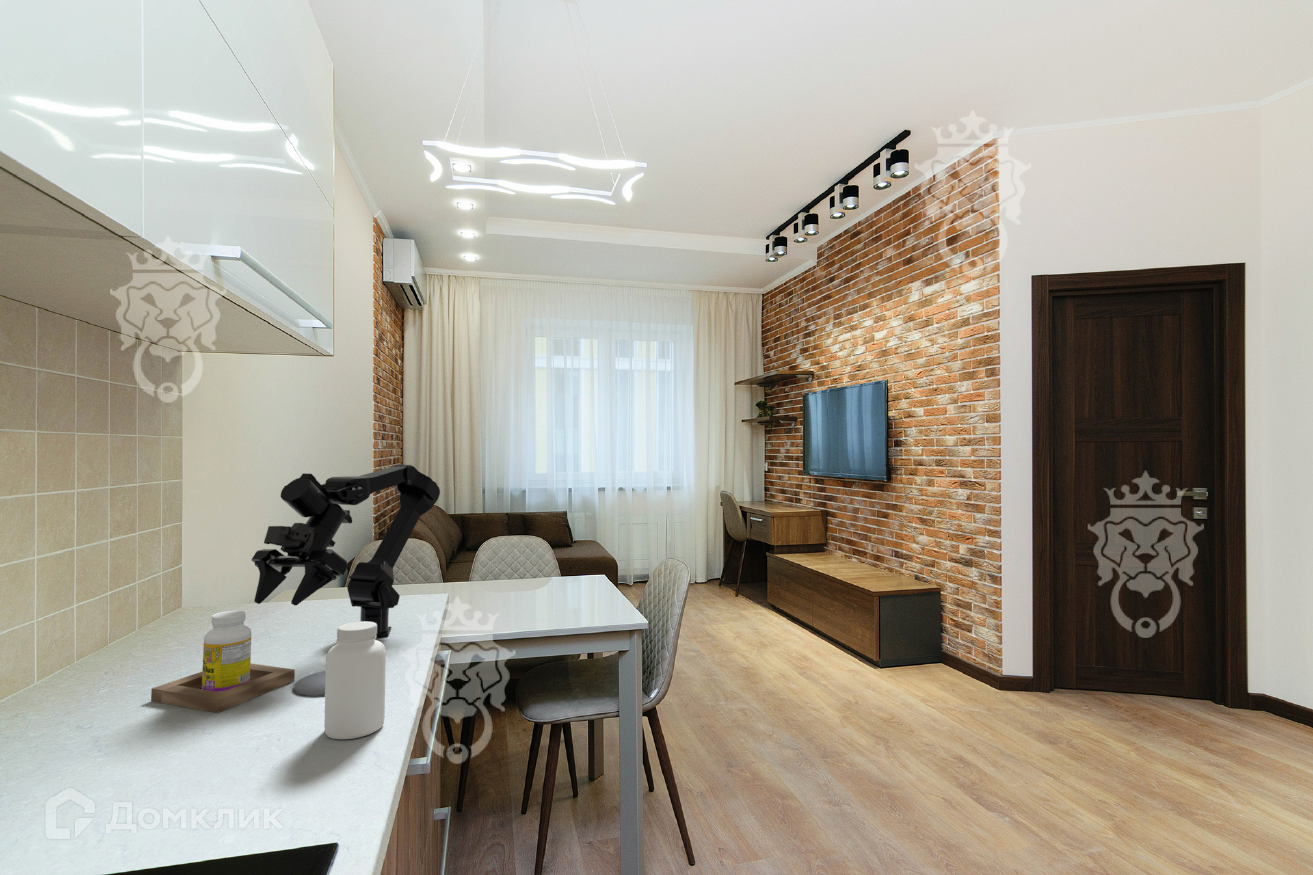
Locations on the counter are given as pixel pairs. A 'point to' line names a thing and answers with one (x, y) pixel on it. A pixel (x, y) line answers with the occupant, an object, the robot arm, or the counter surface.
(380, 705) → the pill bottle
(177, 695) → the pocket block
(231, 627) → the supplement bottle
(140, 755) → the counter surface
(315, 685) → the coaster
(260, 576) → the robot arm
